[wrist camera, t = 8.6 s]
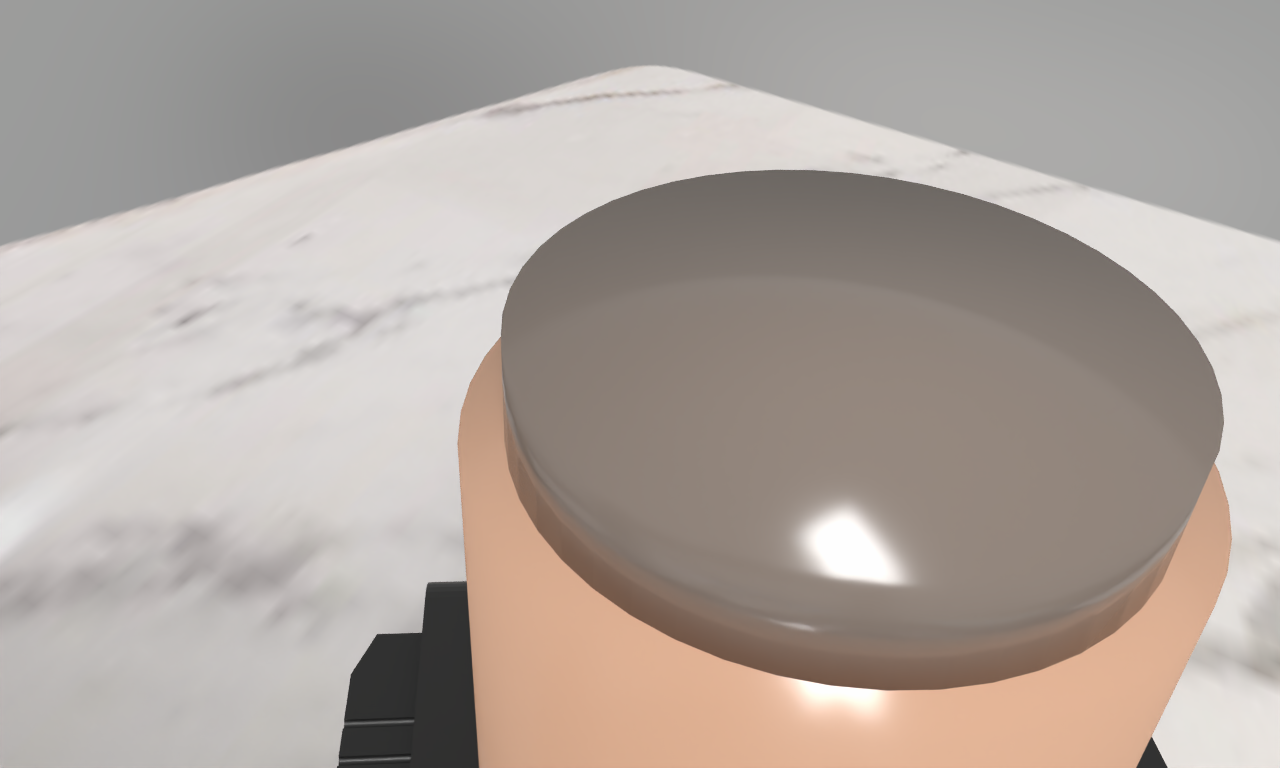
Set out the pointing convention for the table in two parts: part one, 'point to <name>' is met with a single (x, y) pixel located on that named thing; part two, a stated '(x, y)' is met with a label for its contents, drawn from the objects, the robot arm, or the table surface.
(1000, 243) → the terracotta jar
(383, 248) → the table surface
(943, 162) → the table surface
